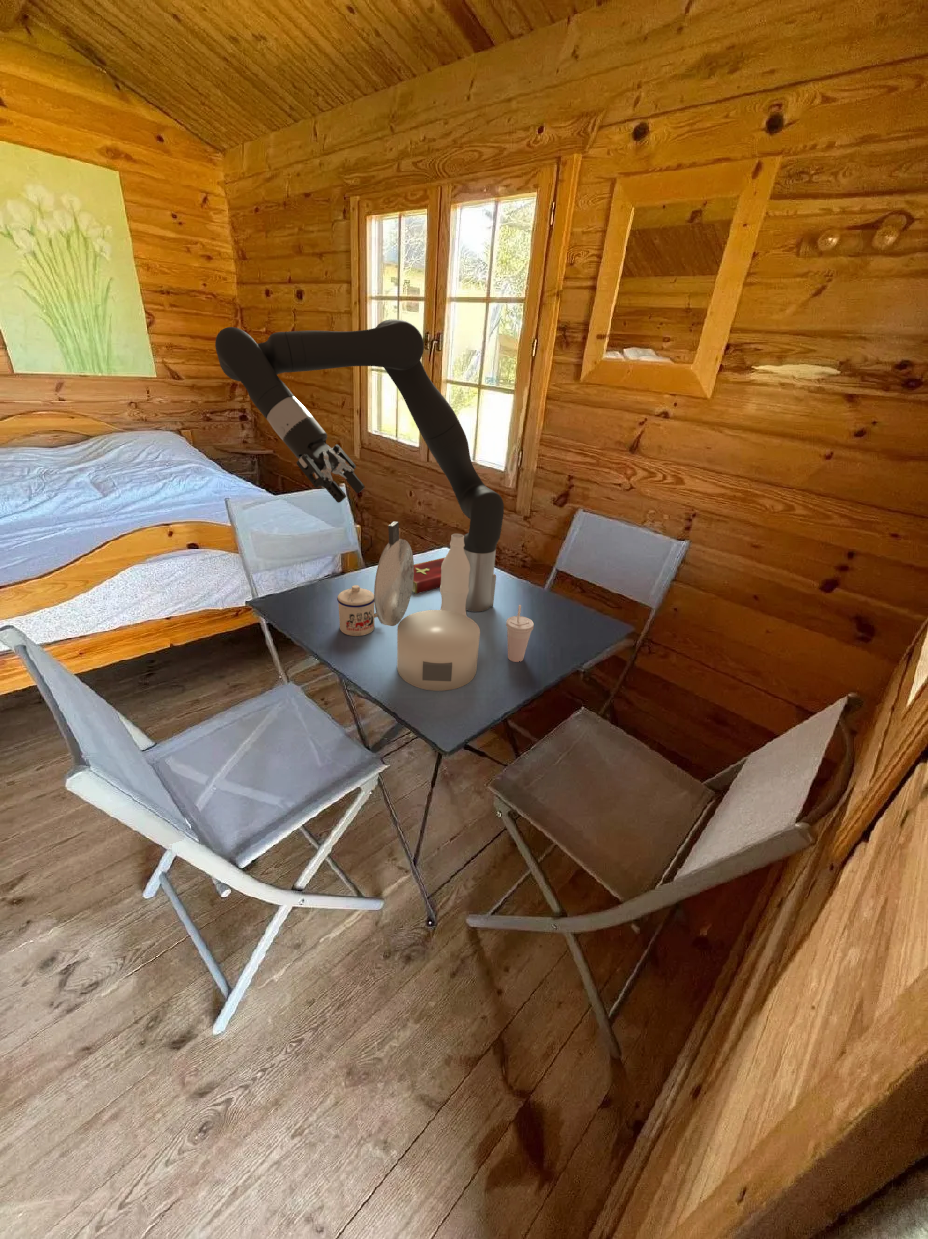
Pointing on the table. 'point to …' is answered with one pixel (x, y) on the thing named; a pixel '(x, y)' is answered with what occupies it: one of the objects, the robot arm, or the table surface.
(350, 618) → the teacup with lid
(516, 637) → the smoothie
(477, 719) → the table surface
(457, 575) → the water bottle
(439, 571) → the hardcover book
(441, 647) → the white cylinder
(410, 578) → the cooker lid
